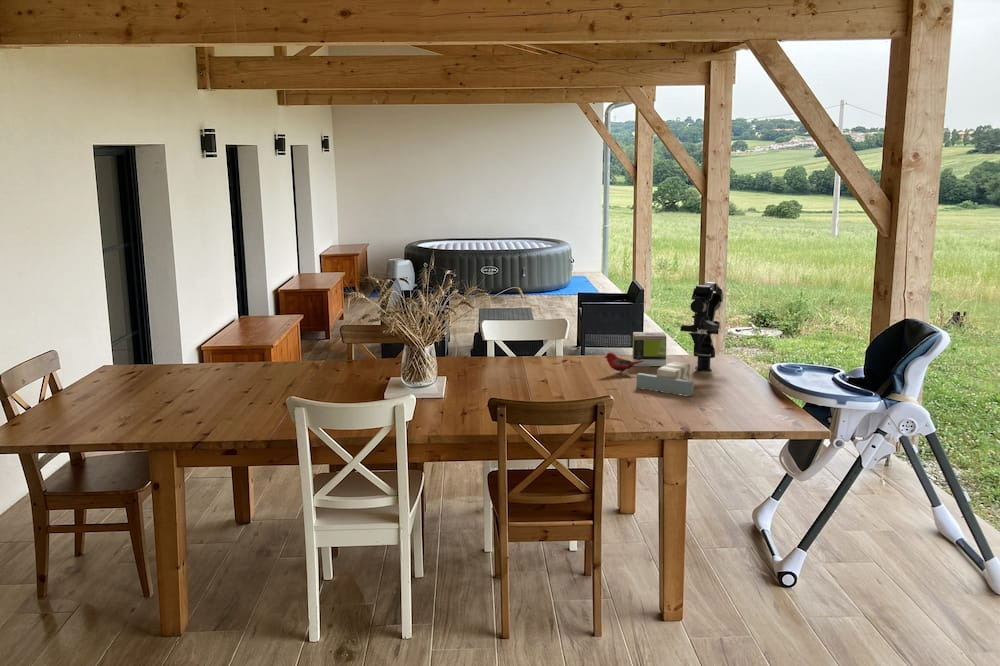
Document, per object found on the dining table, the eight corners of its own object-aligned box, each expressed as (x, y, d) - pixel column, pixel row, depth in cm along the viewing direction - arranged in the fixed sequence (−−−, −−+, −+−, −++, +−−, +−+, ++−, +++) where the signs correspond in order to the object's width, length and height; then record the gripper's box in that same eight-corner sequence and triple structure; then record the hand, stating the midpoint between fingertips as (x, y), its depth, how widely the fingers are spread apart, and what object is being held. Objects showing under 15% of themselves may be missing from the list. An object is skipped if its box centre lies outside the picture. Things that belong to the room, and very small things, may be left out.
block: (671, 381, 379) (672, 361, 377) (689, 384, 375) (690, 363, 373) (656, 389, 366) (657, 369, 364) (674, 392, 362) (675, 371, 360)
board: (639, 386, 370) (639, 372, 369) (692, 395, 357) (693, 381, 356) (636, 388, 368) (636, 374, 367) (690, 396, 355) (691, 382, 354)
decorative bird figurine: (603, 373, 392) (603, 351, 389) (642, 373, 392) (643, 351, 390) (604, 375, 389) (604, 353, 387) (643, 374, 389) (644, 353, 387)
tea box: (664, 362, 412) (665, 331, 409) (665, 367, 403) (667, 336, 399) (631, 361, 414) (632, 331, 411) (632, 366, 404) (633, 335, 401)
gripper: (700, 313, 371) (697, 349, 371) (729, 316, 381) (726, 351, 382) (681, 312, 380) (677, 347, 380) (709, 315, 390) (706, 349, 391)
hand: (697, 349), depth 383 cm, fingers closed
